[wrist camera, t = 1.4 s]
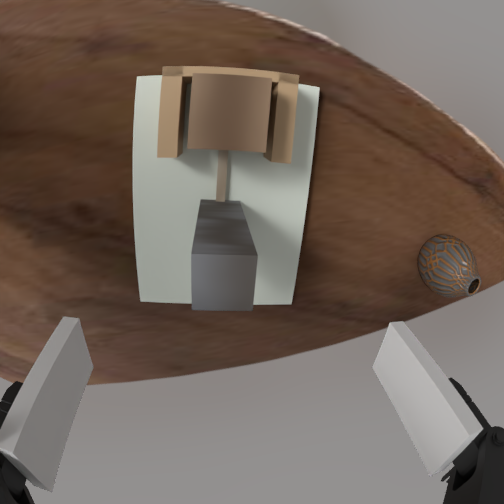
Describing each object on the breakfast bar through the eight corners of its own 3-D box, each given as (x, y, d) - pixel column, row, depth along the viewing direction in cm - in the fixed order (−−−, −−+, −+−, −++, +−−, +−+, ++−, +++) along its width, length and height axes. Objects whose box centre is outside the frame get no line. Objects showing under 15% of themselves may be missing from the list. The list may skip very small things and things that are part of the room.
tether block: (191, 235, 28) (178, 309, 17) (198, 87, 22) (185, 55, 12) (245, 237, 28) (265, 310, 18) (257, 90, 23) (291, 63, 12)
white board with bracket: (142, 296, 31) (132, 324, 26) (139, 78, 22) (124, 68, 18) (289, 299, 33) (300, 326, 28) (316, 88, 24) (336, 82, 20)
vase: (402, 275, 34) (442, 314, 26) (420, 223, 31) (468, 253, 23) (438, 279, 35) (477, 314, 27) (456, 232, 33) (501, 260, 25)
